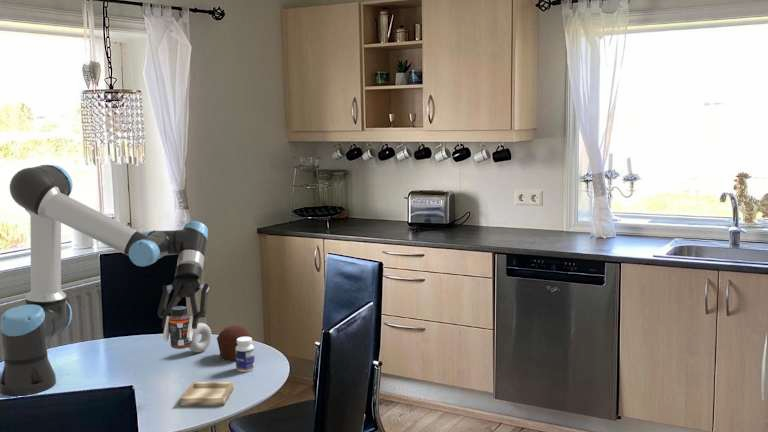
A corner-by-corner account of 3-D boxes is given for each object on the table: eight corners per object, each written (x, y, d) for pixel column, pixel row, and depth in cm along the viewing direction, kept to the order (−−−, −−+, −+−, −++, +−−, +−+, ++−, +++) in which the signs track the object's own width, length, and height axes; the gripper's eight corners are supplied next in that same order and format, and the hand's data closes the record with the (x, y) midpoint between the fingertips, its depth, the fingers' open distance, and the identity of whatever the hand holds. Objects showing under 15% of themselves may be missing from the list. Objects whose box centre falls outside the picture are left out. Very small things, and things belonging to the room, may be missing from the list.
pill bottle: (232, 369, 236) (231, 338, 235) (247, 364, 240) (246, 334, 239) (243, 373, 232) (242, 342, 231) (258, 368, 237) (257, 338, 235)
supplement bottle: (186, 350, 211) (184, 310, 209) (167, 349, 212) (164, 310, 210) (196, 343, 217) (193, 305, 215) (176, 342, 218) (174, 304, 216)
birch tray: (180, 405, 208) (180, 398, 208) (192, 389, 220) (192, 382, 220) (223, 405, 208) (223, 398, 207) (233, 389, 220) (233, 382, 219)
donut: (207, 347, 259) (206, 318, 257) (214, 348, 257) (213, 320, 255) (184, 355, 251) (183, 326, 249) (191, 357, 249) (190, 327, 247)
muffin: (254, 360, 244) (252, 330, 243) (219, 364, 241) (217, 334, 240) (249, 349, 256) (248, 320, 254) (216, 353, 252) (215, 324, 251)
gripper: (223, 274, 227) (213, 344, 213) (161, 276, 227) (147, 345, 214) (218, 261, 221) (208, 331, 207) (154, 262, 221) (139, 333, 208)
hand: (177, 338), depth 210 cm, fingers closed on supplement bottle, 6 cm apart
